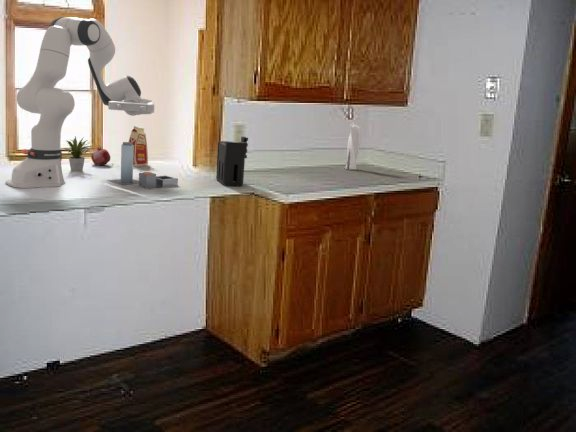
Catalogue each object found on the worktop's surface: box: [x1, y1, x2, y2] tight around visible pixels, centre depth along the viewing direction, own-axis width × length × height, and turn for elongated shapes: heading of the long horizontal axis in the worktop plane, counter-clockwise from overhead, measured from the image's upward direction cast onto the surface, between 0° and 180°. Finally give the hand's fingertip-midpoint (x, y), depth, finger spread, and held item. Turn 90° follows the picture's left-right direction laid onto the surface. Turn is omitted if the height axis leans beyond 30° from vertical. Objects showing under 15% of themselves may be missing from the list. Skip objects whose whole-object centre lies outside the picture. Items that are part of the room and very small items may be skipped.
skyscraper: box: [342, 121, 362, 171], centre depth 354 cm, size 8×8×28 cm
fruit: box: [90, 145, 111, 166], centre depth 297 cm, size 9×10×10 cm
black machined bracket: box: [215, 136, 249, 187], centre depth 279 cm, size 12×21×22 cm, turn 21°
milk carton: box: [128, 125, 149, 167], centre depth 308 cm, size 9×9×20 cm
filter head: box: [135, 172, 179, 190], centre depth 255 cm, size 16×10×6 cm, turn 140°
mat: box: [106, 178, 139, 186], centre depth 257 cm, size 12×12×1 cm
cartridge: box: [120, 141, 134, 183], centre depth 255 cm, size 5×5×17 cm
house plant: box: [63, 135, 92, 173], centre depth 275 cm, size 14×14×16 cm
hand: (130, 107), depth 262 cm, fingers open, 8 cm apart
